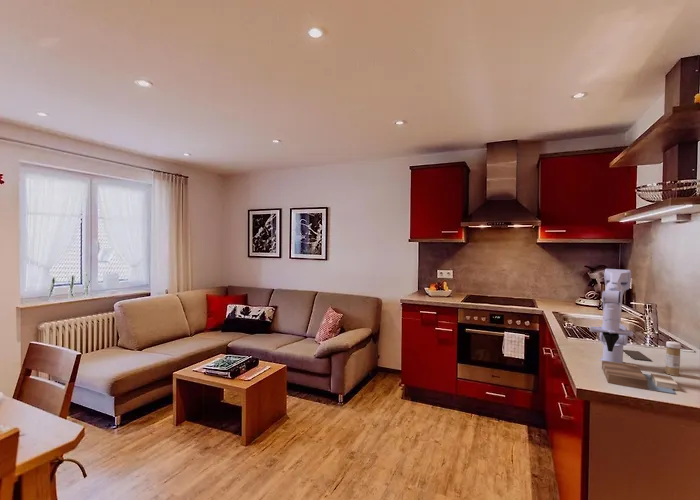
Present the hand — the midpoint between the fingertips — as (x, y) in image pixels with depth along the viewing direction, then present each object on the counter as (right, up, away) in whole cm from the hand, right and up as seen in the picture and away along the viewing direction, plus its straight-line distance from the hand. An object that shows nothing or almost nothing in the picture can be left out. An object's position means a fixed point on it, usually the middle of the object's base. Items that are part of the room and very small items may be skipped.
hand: (610, 350), depth 148 cm
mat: (+10, -10, -10) cm, 17 cm away
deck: (+1, -10, -5) cm, 11 cm away
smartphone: (+30, -10, +23) cm, 39 cm away
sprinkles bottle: (+26, -10, 0) cm, 28 cm away
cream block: (+12, -8, -11) cm, 18 cm away
